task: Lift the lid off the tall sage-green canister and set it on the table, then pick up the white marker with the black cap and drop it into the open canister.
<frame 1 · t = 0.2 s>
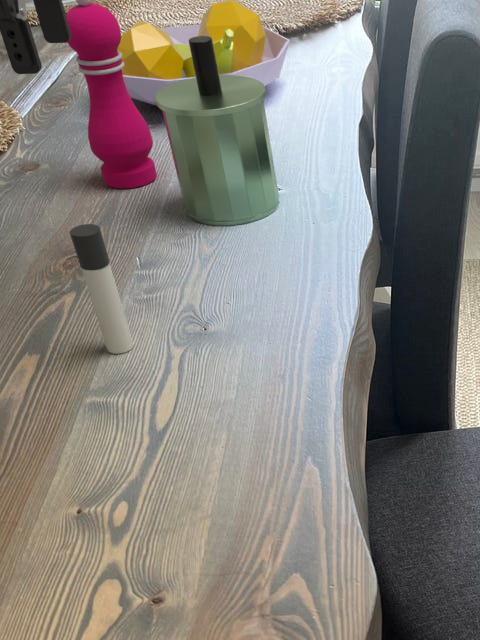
hand: (44, 56, 85), 22 cm above the table, tool pointing down, fingers open, 8 cm apart
marker: (120, 347, 93), on the table
fruit bowl: (203, 99, 144), on the table
pepper mill: (131, 180, 122), on the table
canister: (232, 206, 116), on the table
canister lid: (211, 98, 108), point 11 cm above the table, touching canister
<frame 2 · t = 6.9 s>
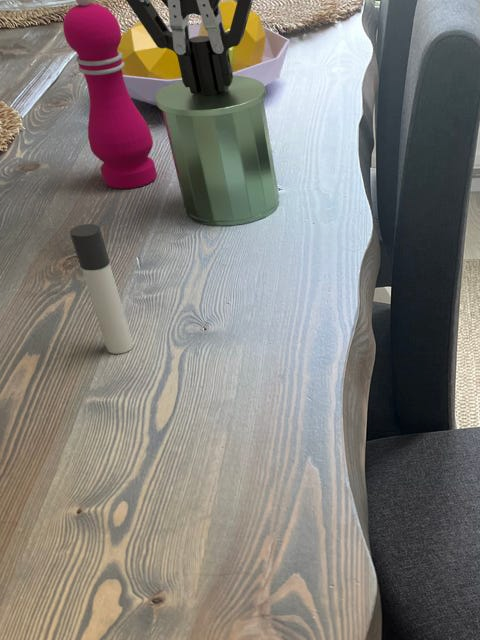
hand: (209, 89, 107), 12 cm above the table, tool pointing down, fingers closed on canister lid, 2 cm apart
canister lid: (211, 98, 108), point 11 cm above the table, touching canister, gripper
everything else where it was.
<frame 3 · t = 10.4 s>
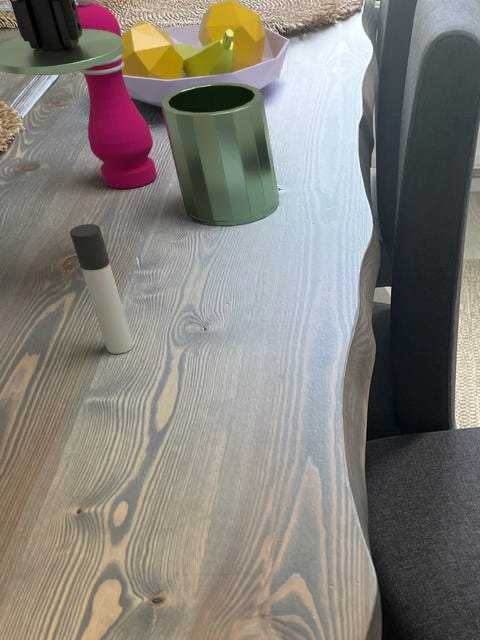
hand: (55, 44, 90), 21 cm above the table, tool pointing down, fingers closed on canister lid, 2 cm apart
canister lid: (58, 54, 90), point 20 cm above the table, touching gripper
everything else where it was.
when the fingers open (1 cm above the table, at t = 14.2 s): canister lid stays where it is, point 1 cm above the table.
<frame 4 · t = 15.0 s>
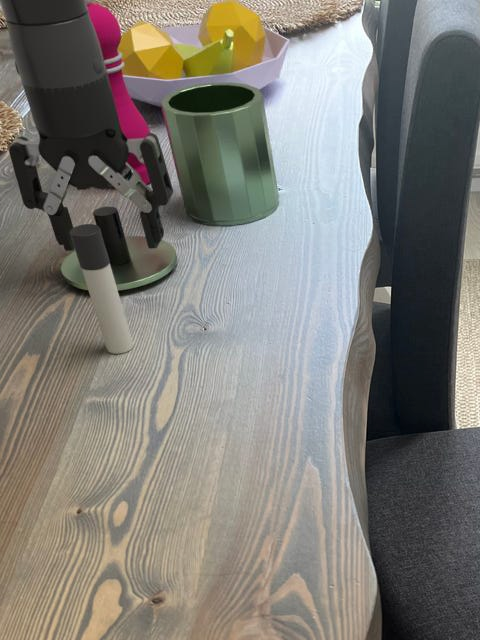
hand: (113, 246, 103), 3 cm above the table, tool pointing down, fingers open, 8 cm apart
canister lid: (120, 265, 104), point 1 cm above the table
everything else where it was.
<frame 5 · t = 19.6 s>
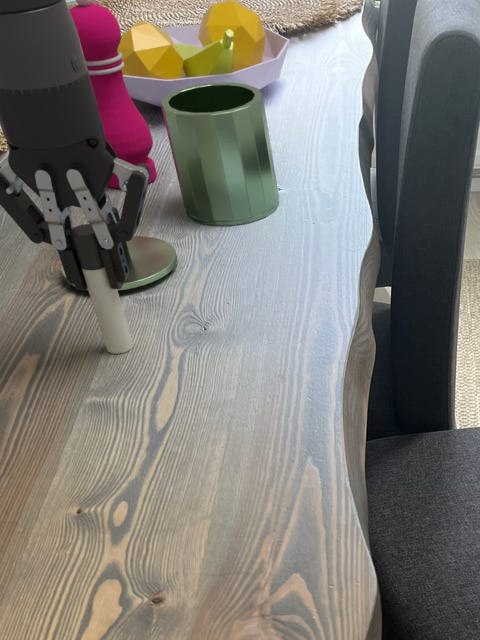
hand: (101, 284, 89), 6 cm above the table, tool pointing down, fingers closed on marker, 2 cm apart
marker: (120, 347, 93), on the table, touching gripper
everything else where it was.
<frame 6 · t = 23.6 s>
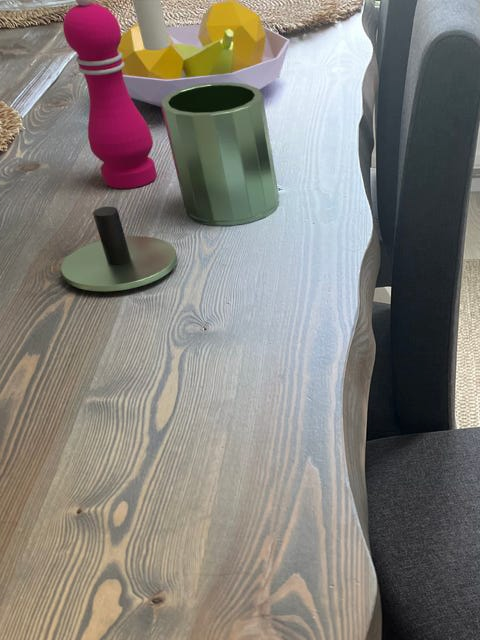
marker: (157, 46, 94), point 19 cm above the table, touching gripper
everything else where it was.
when the fingers open (15 cm above the table, at t = 27.4 s): marker drops 8 cm, resting on canister.
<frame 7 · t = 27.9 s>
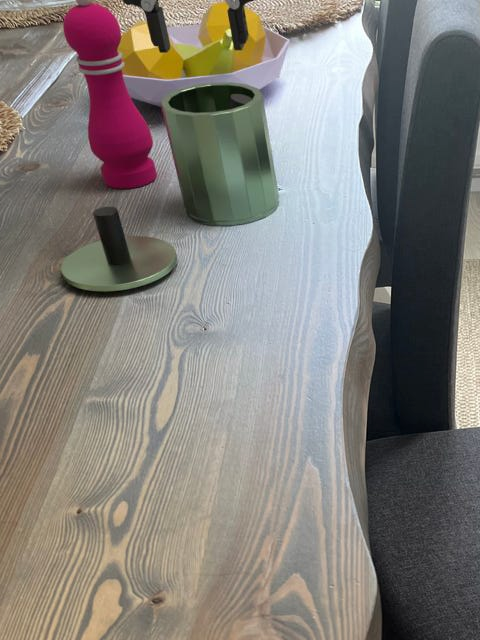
hand: (202, 49, 104), 16 cm above the table, tool pointing down, fingers open, 7 cm apart
marker: (232, 199, 115), point 1 cm above the table, tilted 17°, touching canister
everything else where it was.
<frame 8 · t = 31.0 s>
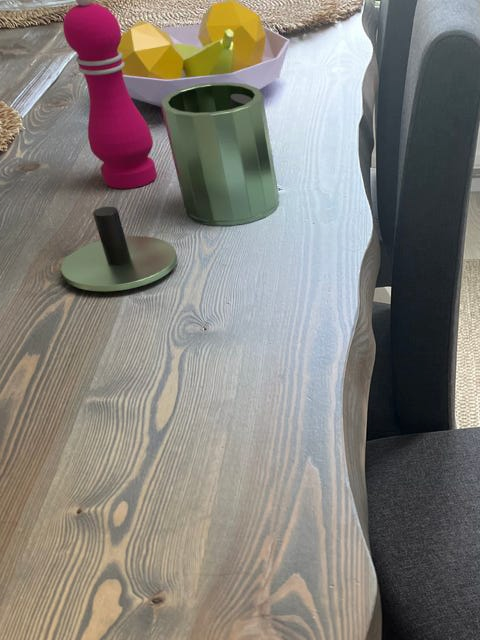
nothing on the table moved.
at the end: canister lid inside the target area (0.2 cm from its centre), point 0.6 cm above the table; marker inside the target area in the canister (0.1 cm from its centre), point 0.8 cm above the canister's base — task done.
